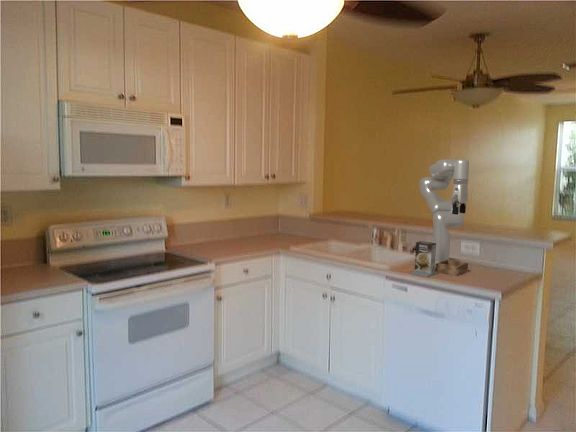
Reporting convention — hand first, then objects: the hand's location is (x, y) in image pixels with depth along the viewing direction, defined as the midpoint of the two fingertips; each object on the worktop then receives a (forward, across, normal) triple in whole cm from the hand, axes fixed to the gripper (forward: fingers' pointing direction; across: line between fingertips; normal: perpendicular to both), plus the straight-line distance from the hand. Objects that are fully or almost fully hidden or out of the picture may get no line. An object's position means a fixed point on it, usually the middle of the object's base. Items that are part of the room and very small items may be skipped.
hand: (458, 213), depth 244 cm
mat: (+32, -18, +10) cm, 38 cm away
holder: (+32, -3, +1) cm, 32 cm away
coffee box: (+32, -18, +10) cm, 37 cm away
